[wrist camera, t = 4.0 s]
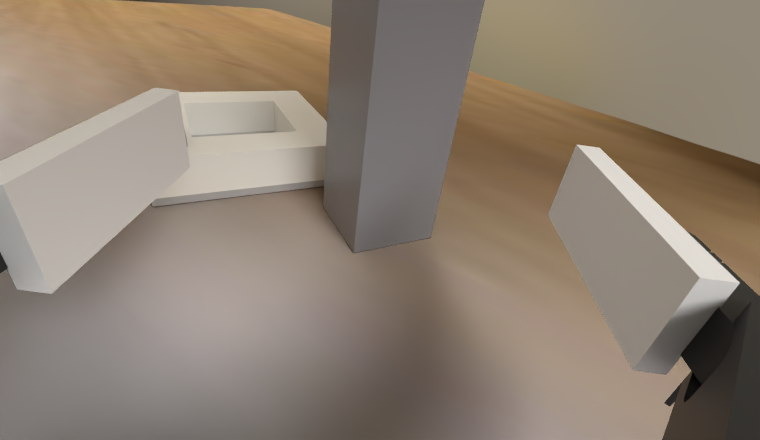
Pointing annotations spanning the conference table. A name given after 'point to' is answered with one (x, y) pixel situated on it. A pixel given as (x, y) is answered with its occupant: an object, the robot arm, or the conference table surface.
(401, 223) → the plug
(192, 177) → the socket
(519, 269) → the conference table surface
